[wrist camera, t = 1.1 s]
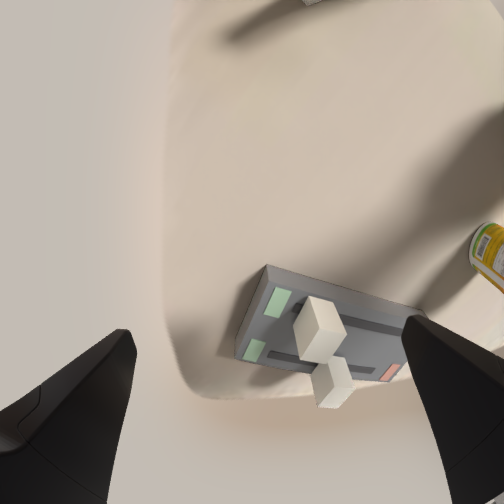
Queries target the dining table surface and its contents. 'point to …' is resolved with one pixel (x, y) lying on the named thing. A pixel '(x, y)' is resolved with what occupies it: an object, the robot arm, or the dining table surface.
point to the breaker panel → (350, 312)
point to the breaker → (318, 330)
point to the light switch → (310, 2)
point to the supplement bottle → (489, 253)
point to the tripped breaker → (332, 383)
